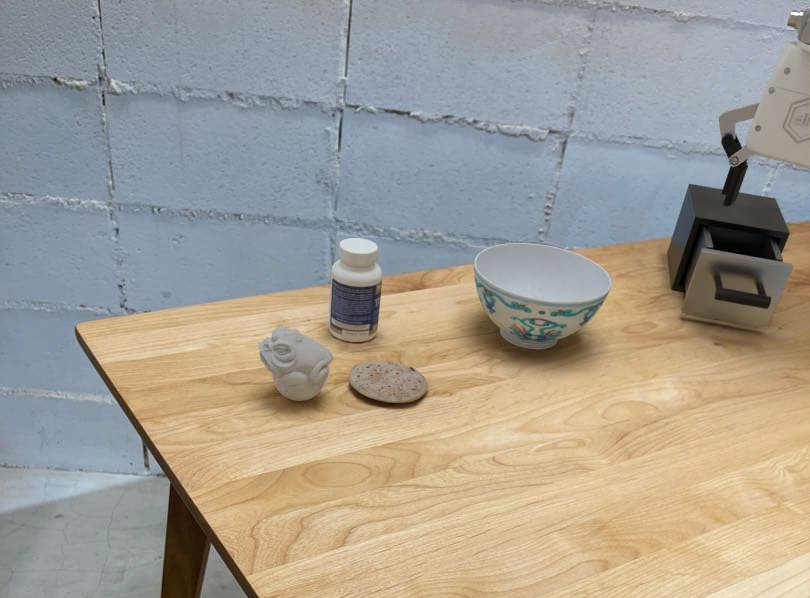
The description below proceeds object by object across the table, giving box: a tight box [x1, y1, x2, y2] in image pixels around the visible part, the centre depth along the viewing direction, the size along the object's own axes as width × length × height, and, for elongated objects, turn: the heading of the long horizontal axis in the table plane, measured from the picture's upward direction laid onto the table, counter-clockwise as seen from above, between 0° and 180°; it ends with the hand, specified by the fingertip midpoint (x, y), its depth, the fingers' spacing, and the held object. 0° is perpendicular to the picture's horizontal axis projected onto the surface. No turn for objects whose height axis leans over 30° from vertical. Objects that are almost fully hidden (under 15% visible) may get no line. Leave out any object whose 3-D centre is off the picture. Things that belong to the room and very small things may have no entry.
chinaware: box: [473, 242, 613, 350], centre depth 93 cm, size 15×15×8 cm
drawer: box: [681, 224, 794, 330], centre depth 102 cm, size 17×10×8 cm, turn 169°
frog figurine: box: [257, 325, 334, 402], centre depth 79 cm, size 6×7×7 cm
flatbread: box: [348, 360, 429, 404], centre depth 84 cm, size 8×8×1 cm
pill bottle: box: [328, 237, 383, 343], centre depth 89 cm, size 5×5×10 cm
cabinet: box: [667, 183, 791, 293], centre depth 111 cm, size 13×12×10 cm
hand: (772, 215), depth 91 cm, fingers open, 9 cm apart
